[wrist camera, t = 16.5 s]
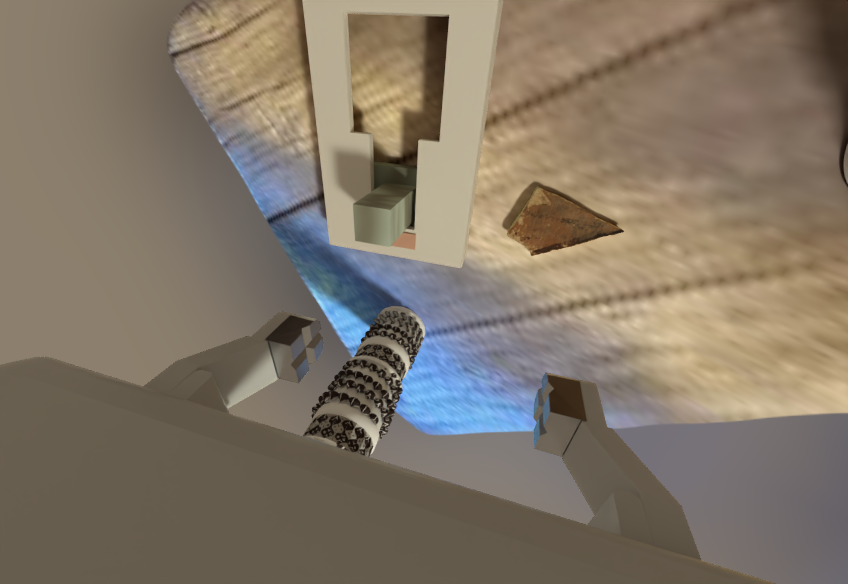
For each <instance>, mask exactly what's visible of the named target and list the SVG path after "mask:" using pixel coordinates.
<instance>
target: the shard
mask: <svg viewBox="0 0 848 584" xmlns="http://www.w3.org/2000/svg"><path fill="white" fill-rule="evenodd" d="M621 232H624V231H623V230H622V229H620V228H619V227H617V226H615V225H613V224H611V223H608V222H606V221H604V220H602V219H599V218H597V217H595V216H594V215H592V214H591V213H589V212H588V211H587V210H585V209H583V208H581V207H579V206H577V205H576V204H574V203H572V202H570V201H568V200H566V199H564V198H563V197H561V196H559V195H557V194H555V193H550V192H548V191H546V190H544V189H543V188H540V187H538V186H537V187H536V188H535V190H534V191H533V194H532V195H531V197H530V198H529V200H528V202H527V204H526V205H525V206H524V208H523V210H522V211H521V213H520V214H519V215H518V216H517V218H516V219H515V221H514V222H513V223H512V224H511V227H510V228H509V231H508V233H507V235H508V236H509V237H510V238H512V239H514V240H516V241H517V242H519V243H521V244H522V245H524V246H525V247H526V248H527V249H528V250H529V251H530V253H531V256H534V255H537V254H541V253H546V252H550V251H552V250H558V249H562V248H566V247H571V246H575V245H577V244H581V243H585V242H588V241H591V240H595V239H597V238H600V237H603V236H608V235H615V234H618V233H621Z"/></svg>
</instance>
